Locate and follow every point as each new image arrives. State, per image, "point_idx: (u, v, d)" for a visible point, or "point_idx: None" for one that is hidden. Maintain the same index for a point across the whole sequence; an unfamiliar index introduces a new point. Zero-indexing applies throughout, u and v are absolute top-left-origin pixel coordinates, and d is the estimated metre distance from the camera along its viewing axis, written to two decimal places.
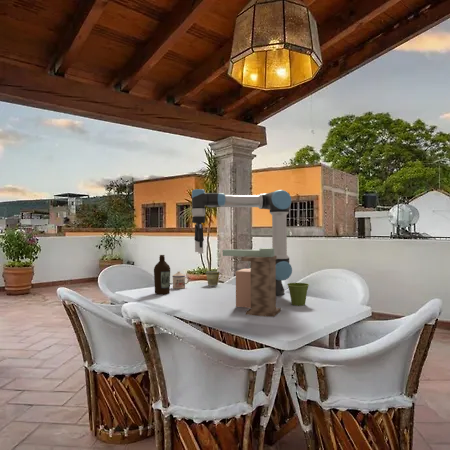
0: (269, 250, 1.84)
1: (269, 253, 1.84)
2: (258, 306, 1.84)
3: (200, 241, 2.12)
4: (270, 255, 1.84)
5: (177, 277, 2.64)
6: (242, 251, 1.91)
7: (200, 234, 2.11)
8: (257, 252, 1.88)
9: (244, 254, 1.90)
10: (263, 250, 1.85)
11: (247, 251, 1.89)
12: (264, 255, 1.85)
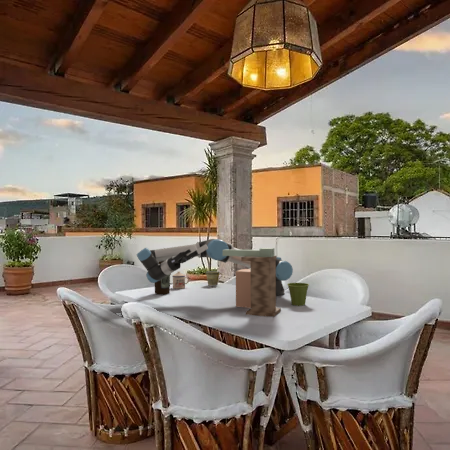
0: (269, 250, 1.84)
1: (269, 253, 1.84)
2: (258, 306, 1.84)
3: (184, 254, 1.96)
4: (270, 255, 1.84)
5: (177, 277, 2.64)
6: (242, 251, 1.91)
7: (178, 257, 1.97)
8: (257, 252, 1.88)
9: (244, 254, 1.90)
10: (263, 250, 1.85)
11: (247, 251, 1.89)
12: (264, 255, 1.85)
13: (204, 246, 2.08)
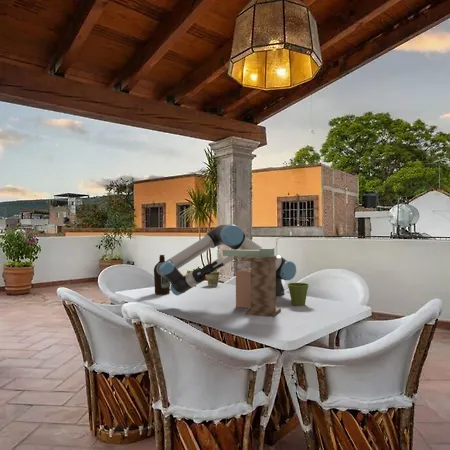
0: (269, 250, 1.84)
1: (269, 253, 1.84)
2: (258, 306, 1.84)
3: (210, 266, 1.89)
4: (270, 255, 1.84)
5: None
6: (242, 251, 1.91)
7: (204, 270, 1.90)
8: (257, 252, 1.88)
9: (244, 254, 1.90)
10: (263, 250, 1.85)
11: (247, 251, 1.89)
12: (264, 255, 1.85)
13: (230, 257, 2.02)
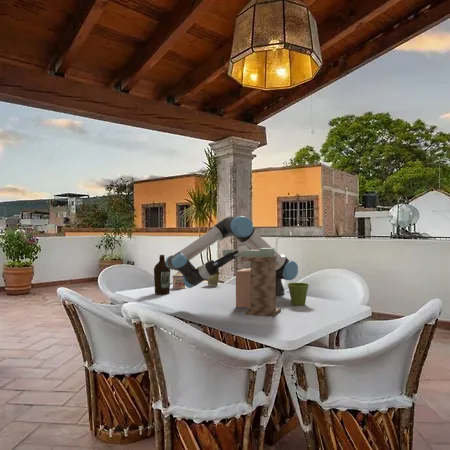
0: (269, 250, 1.84)
1: (269, 253, 1.84)
2: (258, 306, 1.84)
3: (232, 255, 1.90)
4: (270, 255, 1.84)
5: (177, 277, 2.64)
6: None
7: (224, 259, 1.90)
8: (257, 252, 1.88)
9: (244, 254, 1.90)
10: (263, 250, 1.85)
11: (247, 251, 1.89)
12: (264, 255, 1.85)
13: (244, 247, 1.94)
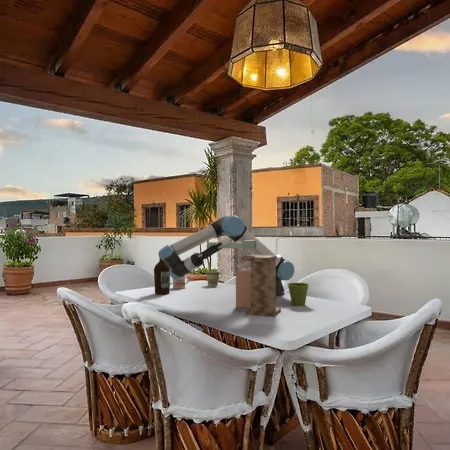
0: (251, 242, 1.92)
1: (251, 245, 1.92)
2: (258, 306, 1.84)
3: (215, 247, 1.98)
4: (252, 247, 1.92)
5: None
6: None
7: (208, 251, 1.98)
8: (240, 244, 1.96)
9: (227, 246, 1.98)
10: (245, 242, 1.93)
11: (230, 243, 1.97)
12: (246, 247, 1.93)
13: (227, 240, 2.02)
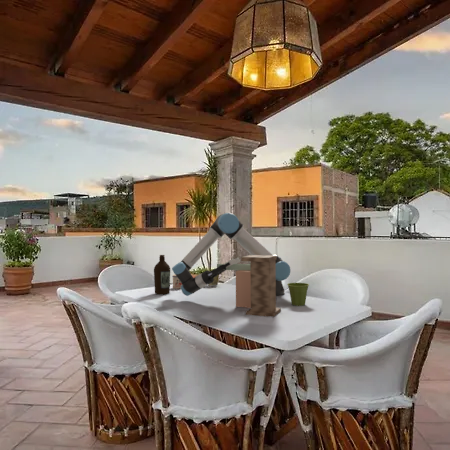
0: None
1: None
2: (258, 306, 1.84)
3: (224, 267, 2.08)
4: None
5: (177, 277, 2.64)
6: (234, 265, 2.09)
7: (217, 270, 2.08)
8: (248, 266, 2.06)
9: (236, 268, 2.09)
10: None
11: (239, 265, 2.08)
12: None
13: (237, 259, 2.14)
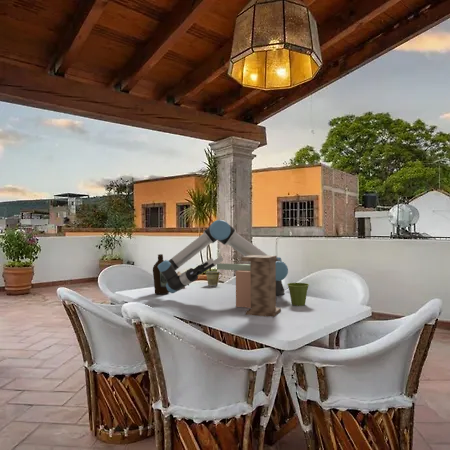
0: None
1: None
2: (258, 306, 1.84)
3: (202, 266, 2.09)
4: None
5: None
6: (234, 265, 2.09)
7: (196, 270, 2.10)
8: (248, 266, 2.06)
9: (236, 268, 2.09)
10: None
11: (239, 265, 2.08)
12: None
13: (220, 258, 2.21)
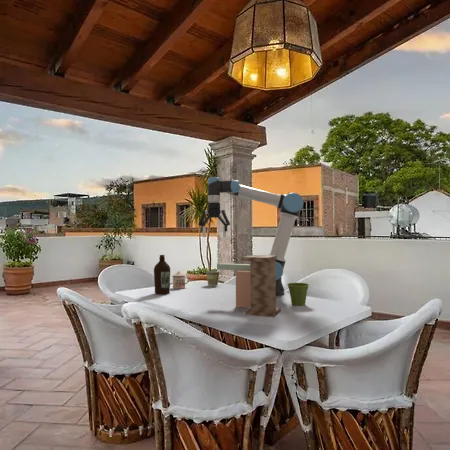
0: None
1: None
2: (258, 306, 1.84)
3: (226, 225, 2.30)
4: None
5: (177, 277, 2.64)
6: (234, 265, 2.09)
7: (227, 219, 2.30)
8: (248, 266, 2.06)
9: (236, 268, 2.09)
10: None
11: (239, 265, 2.08)
12: None
13: (205, 235, 2.36)
